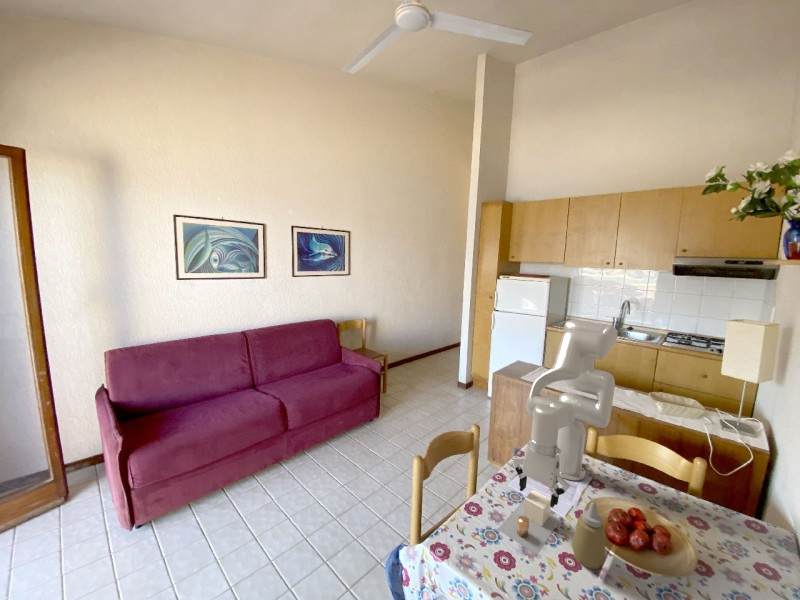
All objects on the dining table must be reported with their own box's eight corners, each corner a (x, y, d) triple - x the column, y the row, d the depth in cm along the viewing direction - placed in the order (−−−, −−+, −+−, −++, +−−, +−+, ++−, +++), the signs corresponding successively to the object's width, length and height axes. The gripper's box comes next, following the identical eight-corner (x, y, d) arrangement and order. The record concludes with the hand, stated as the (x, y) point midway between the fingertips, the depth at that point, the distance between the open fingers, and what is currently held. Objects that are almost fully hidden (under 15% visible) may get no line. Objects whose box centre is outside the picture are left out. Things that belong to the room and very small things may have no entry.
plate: (523, 503, 116) (523, 499, 116) (560, 523, 108) (560, 520, 108) (497, 532, 103) (497, 529, 103) (536, 558, 95) (536, 554, 95)
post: (519, 527, 104) (520, 514, 104) (529, 533, 102) (531, 520, 101) (514, 533, 102) (516, 519, 101) (525, 539, 100) (526, 526, 99)
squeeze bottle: (586, 579, 90) (594, 517, 87) (563, 553, 97) (570, 495, 95) (610, 572, 92) (618, 511, 89) (586, 546, 99) (593, 490, 97)
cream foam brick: (531, 506, 113) (532, 489, 112) (549, 516, 109) (551, 499, 108) (523, 515, 109) (524, 498, 108) (541, 526, 105) (543, 509, 104)
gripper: (577, 453, 102) (570, 506, 104) (521, 431, 114) (517, 478, 116) (568, 463, 97) (561, 518, 99) (511, 438, 109) (506, 488, 111)
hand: (537, 496), depth 107 cm, fingers open, 9 cm apart
